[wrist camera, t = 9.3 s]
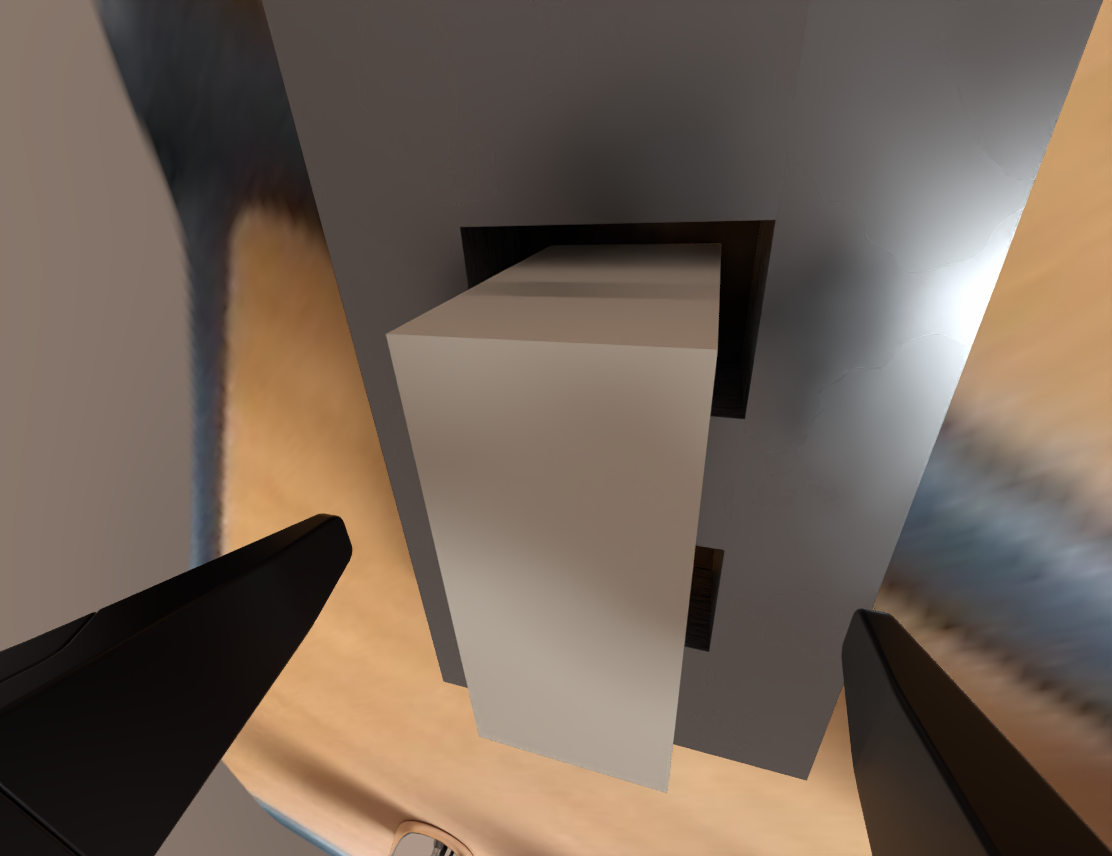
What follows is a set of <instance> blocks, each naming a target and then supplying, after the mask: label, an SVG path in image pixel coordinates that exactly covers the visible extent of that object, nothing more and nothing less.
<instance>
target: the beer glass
mask: <svg viewBox="0 0 1112 856" xmlns="http://www.w3.org/2000/svg"><path fill="white" fill-rule="evenodd" d="M389 856H473V855H472V853H471V852H470V851H469V850H468V849H467V848H466V847H465V846H464V845H463V844H462V843H461V842H459V841H458V840H457V839H455V838H454V837H452V836H451V835H449V834H447V833H446V832H444V831H442V830H440V829H438V828H436V827H433V826H431V825H428V824H425V823H422V822H417V821H405V822H403V823H401V824H400V825H399V827H398V829H397V831H396V834H395V837H394V840H393V843H392V847H391V850H390V853H389Z"/></svg>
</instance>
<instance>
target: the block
mask: <svg viewBox="0 0 1112 856" xmlns="http://www.w3.org/2000/svg"><path fill="white" fill-rule="evenodd" d="M720 268H721V243H704V244H618V245H551V246H549V247H547V248H545V249H543V250H541V251H540V252H538V253H536V254H534V255H532V256H530V257H528V258H527V259H525V260H523V261H521V262H519V263H517V264H515V265H514V266H512V267H510V268H508V269H506V270H504V271H502V272H500V273H499V274H497V275H495V276H493V277H491V278H489V279H487V280H486V281H484V282H482V283H480V284H478V285H476V286H474V287H473V288H471V289H469V290H467V291H465V292H463V293H461V294H459V295H458V296H456V297H454V298H452V299H450V300H448V301H446V302H445V303H443V304H441V305H439V306H437V307H435V308H433V309H432V310H430V311H428V312H426V313H424V314H422V315H420V316H419V317H417V318H415V319H413V320H411V321H409V322H407V323H405V324H404V325H402V326H400V327H398V328H396V329H394V330H392V331H391V332H389V333H387V334H386V337H387V341H388V346H389V350H390V354H391V359H392V363H393V367H394V372H395V376H396V380H397V384H398V389H399V393H400V397H401V402H402V406H403V410H404V415H405V419H406V423H407V428H408V432H409V436H410V441H411V445H412V449H413V454H414V458H415V462H416V466H417V471H418V475H419V479H420V484H421V488H422V492H423V497H424V501H425V505H426V510H427V514H428V518H429V523H430V527H431V531H432V536H433V540H434V544H435V548H436V553H437V557H438V561H439V566H440V570H441V574H442V579H443V583H444V587H445V592H446V596H447V600H448V605H449V609H450V613H451V618H452V622H453V626H454V631H455V635H456V639H457V643H458V648H459V652H460V656H461V661H462V665H463V669H464V674H465V678H466V682H467V687H468V691H469V695H470V700H471V704H472V708H473V713H474V717H475V721H476V725H477V730H478V734H479V737H482V738H485V739H489V740H492V741H495V742H499V743H502V744H505V745H509V746H512V747H515V748H519V749H522V750H525V751H529V752H532V753H535V754H539V755H542V756H545V757H548V758H552V759H555V760H558V761H562V762H565V763H568V764H572V765H575V766H578V767H582V768H585V769H588V770H592V771H595V772H598V773H602V774H605V775H608V776H612V777H615V778H618V779H621V780H625V781H628V782H631V783H635V784H638V785H641V786H645V787H648V788H651V789H655V790H658V791H661V792H665V793H668V785H669V776H670V767H671V758H672V749H673V740H674V731H675V723H676V714H677V705H678V696H679V687H680V678H681V670H682V661H683V652H684V643H685V634H686V625H687V617H688V608H689V599H690V590H691V581H692V572H693V564H694V555H695V546H696V537H697V528H698V519H699V511H700V502H701V493H702V484H703V475H704V466H705V457H706V449H707V440H708V431H709V422H710V413H711V404H712V396H713V387H714V378H715V369H716V360H717V351H718V326H719V297H720Z"/></svg>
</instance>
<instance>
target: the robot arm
mask: <svg viewBox="0 0 1112 856" xmlns="http://www.w3.org/2000/svg"><path fill="white" fill-rule="evenodd" d="M351 556H352V545H351V542H350V539H349V536H348V533H347V530H346V527H345V524H344V522H343V520H342V519H341V518H340V517H339V516H335V515H329V514H318V515H315V516H313V517H310V518H308V519H306V520H304V521H301V522H299V523H297V524H294V525H292V526H290V527H288V528H285V529H283V530H281V531H278V532H276V533H274V534H272V535H269V536H267V537H265V538H262V539H260V540H258V541H255V542H253V543H251V544H249V545H246V546H244V547H242V548H239V549H237V550H235V551H233V552H230V553H228V554H226V555H223V556H221V557H219V558H217V559H214V560H212V561H210V562H207V563H205V564H203V565H201V566H198V567H196V568H194V569H191V570H189V571H187V572H185V573H182V574H180V575H178V576H175V577H173V578H171V579H169V580H166V581H164V582H162V583H159V584H157V585H155V586H153V587H150V588H148V589H146V590H143V591H141V592H139V593H137V594H134V595H132V596H130V597H128V598H125V599H123V600H121V601H118V602H116V603H114V604H111V605H109V606H107V607H104V608H102V609H100V610H99V611H98V612H93V613H90V614H88V615H86V616H84V617H81V618H79V619H77V620H74V621H72V622H70V623H68V624H65V625H63V626H61V627H58V628H56V629H53V630H51V631H49V632H46V633H44V634H42V635H39V636H37V637H35V638H32V639H30V640H28V641H25V642H23V643H20V644H18V645H15V646H13V647H10V648H8V649H6V650H3V651H0V856H155V854H156V853H157V851H158V850H159V849H160V847H161V846H162V844H163V843H164V841H165V840H166V838H167V837H168V836H169V834H170V833H171V831H172V830H173V828H174V827H175V825H176V824H177V822H178V821H179V819H180V818H181V817H182V815H183V813H184V812H185V811H186V809H187V808H188V806H189V805H190V804H191V802H192V801H193V799H194V798H195V796H196V795H197V793H198V792H199V791H200V789H201V788H202V786H203V785H204V783H205V782H206V780H207V779H208V778H209V776H210V774H211V773H212V772H213V770H214V769H215V767H216V766H217V764H218V763H219V762H220V760H221V759H222V757H223V756H224V754H225V753H226V751H227V750H228V748H229V747H230V746H231V744H232V743H233V741H234V740H235V738H236V737H237V735H238V734H239V733H240V731H241V730H242V728H243V727H244V725H245V724H246V722H247V721H248V719H249V718H250V717H251V715H252V714H253V712H254V711H255V709H256V708H257V706H258V705H259V704H260V702H261V701H262V699H263V698H264V696H265V695H266V693H267V692H268V690H269V689H270V688H271V686H272V685H273V683H274V682H275V680H276V679H277V677H278V676H279V675H280V673H281V672H282V670H283V669H284V667H285V666H286V664H287V663H288V661H289V660H290V659H291V657H292V656H293V654H294V653H295V651H296V650H297V648H298V647H299V646H300V644H301V643H302V641H303V640H304V638H305V637H306V635H307V634H308V632H309V631H310V629H311V627H312V626H313V624H314V622H315V621H316V619H317V617H318V616H319V614H320V612H321V610H322V608H323V607H324V605H325V603H326V601H327V600H328V598H329V596H330V594H331V593H332V591H333V589H334V587H335V586H336V584H337V582H338V580H339V578H340V577H341V575H342V573H343V571H344V570H345V568H346V566H347V564H348V563H349V561H350V559H351ZM841 659H842V669H843V678H844V687H845V697H846V706H847V715H848V724H849V733H850V743H851V752H852V759H853V767H854V773H855V778H856V784H857V789H858V793H859V798H860V802H861V807H862V811H863V816H864V820H865V825H866V829H867V834H868V838H869V843H870V847H871V852H872V856H1112V851H1111V850H1110V848H1109V847H1108V846H1107V845H1106V844H1105V843H1104V842H1103V841H1102V840H1101V839H1100V838H1099V837H1098V836H1097V835H1096V833H1095V832H1094V831H1093V830H1092V829H1091V828H1090V827H1089V826H1088V825H1087V824H1086V823H1085V822H1084V821H1083V820H1082V818H1081V817H1080V816H1079V815H1078V814H1077V813H1076V812H1075V811H1074V810H1073V809H1072V808H1071V807H1070V806H1069V805H1068V803H1067V802H1066V801H1065V800H1064V799H1063V798H1062V797H1061V796H1060V795H1059V794H1058V793H1057V792H1056V791H1055V789H1054V788H1053V787H1052V786H1051V785H1050V784H1049V783H1048V782H1047V781H1046V780H1045V779H1044V778H1043V777H1042V776H1041V774H1040V773H1039V772H1038V771H1037V770H1036V769H1035V768H1034V767H1033V766H1032V765H1031V764H1030V763H1029V762H1028V761H1027V759H1026V758H1025V757H1024V756H1023V755H1022V754H1021V753H1020V752H1019V751H1018V750H1017V749H1016V748H1015V747H1014V746H1013V744H1012V743H1011V742H1010V741H1009V740H1008V739H1007V738H1006V737H1005V736H1004V735H1003V734H1002V733H1001V732H1000V731H999V729H998V728H997V727H996V726H995V725H994V724H993V723H992V722H991V721H990V720H989V719H988V718H987V717H986V716H985V714H984V713H983V712H982V711H981V710H980V709H979V708H978V707H977V706H976V705H975V704H974V703H973V702H972V701H971V699H970V698H969V697H968V696H967V695H966V694H965V693H964V692H963V691H962V690H961V689H960V688H959V687H958V686H957V684H956V683H955V682H954V681H953V680H952V679H951V678H950V677H949V676H948V675H947V674H946V673H945V672H944V671H943V669H942V668H941V667H940V666H939V665H938V664H937V663H936V662H935V661H934V660H933V659H932V658H931V657H930V655H929V654H928V653H927V652H926V651H925V650H924V649H923V648H922V647H921V646H920V645H919V644H918V643H917V642H916V640H915V639H914V638H913V637H912V636H911V635H910V634H909V633H908V632H907V631H906V630H905V629H904V628H903V627H902V625H901V624H900V623H899V622H898V621H897V620H896V619H895V618H894V617H893V616H891V615H890V614H888V613H885V612H880V611H874V610H869V609H863V608H860V609H857V610H856V611H855V612H854V614H853V616H852V619H851V622H850V625H849V627H848V630H847V633H846V636H845V639H844V642H843V645H842V653H841Z"/></svg>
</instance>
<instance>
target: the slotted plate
mask: <svg viewBox="0 0 1112 856" xmlns="http://www.w3.org/2000/svg"><path fill="white" fill-rule="evenodd" d="M1102 1H1103V0H262V3H263V7H264V11H265V14H266V18H267V22H268V26H269V29H270V33H271V37H272V41H273V44H274V48H275V52H276V56H277V59H278V63H279V67H280V71H281V74H282V78H283V82H284V86H285V89H286V93H287V97H288V100H289V104H290V108H291V112H292V115H293V119H294V123H295V127H296V130H297V134H298V138H299V142H300V145H301V149H302V153H303V157H304V160H305V164H306V168H307V172H308V175H309V179H310V183H311V187H312V190H313V194H314V198H315V202H316V205H317V209H318V213H319V217H320V220H321V224H322V228H323V232H324V235H325V239H326V243H327V247H328V250H329V254H330V258H331V262H332V265H333V269H334V273H335V277H336V280H337V284H338V288H339V292H340V295H341V299H342V303H343V307H344V310H345V314H346V318H347V321H348V325H349V329H350V333H351V336H352V340H353V344H354V348H355V351H356V355H357V359H358V363H359V366H360V370H361V374H362V378H363V381H364V385H365V389H366V393H367V396H368V400H369V404H370V408H371V411H372V415H373V419H374V423H375V426H376V430H377V434H378V438H379V441H380V445H381V449H382V453H383V456H384V460H385V464H386V468H387V471H388V475H389V479H390V483H391V486H392V490H393V494H394V498H395V501H396V505H397V509H398V513H399V516H400V520H401V524H402V527H403V531H404V535H405V539H406V542H407V546H408V550H409V554H410V557H411V561H412V565H413V569H414V572H415V576H416V580H417V584H418V587H419V591H420V595H421V599H422V602H423V606H424V610H425V614H426V617H427V621H428V625H429V629H430V632H431V636H432V640H433V644H434V647H435V651H436V655H437V659H438V662H439V666H440V670H441V674H442V677H443V681H444V682H448V683H452V684H455V685H459V686H463V687H466V688H468V687H467V682H466V678H465V674H464V669H463V665H462V661H461V656H460V652H459V648H458V643H457V639H456V635H455V631H454V626H453V622H452V618H451V613H450V609H449V605H448V600H447V596H446V592H445V587H444V583H443V579H442V574H441V570H440V566H439V561H438V557H437V553H436V548H435V544H434V540H433V536H432V531H431V527H430V523H429V518H428V514H427V510H426V505H425V501H424V497H423V492H422V488H421V484H420V479H419V475H418V471H417V466H416V462H415V458H414V454H413V449H412V445H411V441H410V436H409V432H408V428H407V423H406V419H405V415H404V410H403V406H402V402H401V397H400V393H399V389H398V384H397V380H396V376H395V372H394V367H393V363H392V359H391V354H390V350H389V346H388V341H387V337H386V334H387V333H389V332H391V331H392V330H394V329H396V328H398V327H400V326H402V325H404V324H405V323H407V322H409V321H411V320H413V319H415V318H417V317H419V316H420V315H422V314H424V313H426V312H428V311H430V310H432V309H433V308H435V307H437V306H439V305H441V304H443V303H445V302H446V301H448V300H450V299H452V298H454V297H456V296H458V295H459V294H461V293H463V292H465V291H467V290H469V289H471V288H473V287H474V286H476V285H478V284H480V283H482V282H484V281H486V280H487V279H489V278H491V277H493V276H495V275H497V274H499V273H500V272H502V271H504V270H506V269H508V268H510V267H512V266H514V265H515V264H517V263H519V262H520V252H519V240H518V228H517V226H529V225H573V224H616V223H660V222H704V221H748V220H761V223H760V230H759V237H758V244H757V251H756V258H755V265H754V272H753V280H752V287H751V294H750V301H749V308H748V315H747V322H746V329H745V337H744V344H743V351H742V358H741V363H725V362H716V369H715V378H714V387H713V396H712V404H711V413H710V422H709V431H708V440H707V449H706V457H705V466H704V475H703V484H702V493H701V502H700V511H699V519H698V528H697V537H696V546H702V547H709V548H715V550H714V557H713V564H712V571H711V570H706V569H700V568H694V567H693V572H692V581H691V590H690V599H689V608H688V617H687V625H686V634H685V643H684V652H683V661H682V670H681V678H680V687H679V696H678V705H677V714H676V723H675V731H674V740H673V744H675V745H679V746H682V747H686V748H690V749H693V750H697V751H701V752H704V753H708V754H712V755H715V756H719V757H723V758H726V759H730V760H734V761H737V762H741V763H745V764H748V765H752V766H756V767H759V768H763V769H767V770H770V771H774V772H778V773H781V774H785V775H789V776H792V777H796V778H800V779H803V780H807V778H808V776H809V773H810V771H811V768H812V765H813V763H814V760H815V757H816V755H817V752H818V749H819V747H820V744H821V742H822V739H823V736H824V734H825V731H826V728H827V726H828V723H829V720H830V718H831V715H832V713H833V710H834V707H835V705H836V702H837V699H838V697H839V694H840V691H841V689H842V686H843V684H844V678H843V669H842V659H841V653H842V645H843V642H844V639H845V636H846V633H847V630H848V627H849V625H850V622H851V619H852V616H853V614H854V612H855V611H856V610H857V609H860V608H863V609H869V610H872V607H873V605H874V602H875V599H876V597H877V594H878V591H879V589H880V586H881V584H882V581H883V578H884V576H885V573H886V570H887V568H888V565H889V562H890V560H891V557H892V555H893V552H894V549H895V547H896V544H897V541H898V539H899V536H900V533H901V531H902V528H903V526H904V523H905V520H906V518H907V515H908V512H909V510H910V507H911V505H912V502H913V499H914V497H915V494H916V491H917V489H918V486H919V483H920V481H921V478H922V476H923V473H924V470H925V468H926V465H927V462H928V460H929V457H930V454H931V452H932V449H933V447H934V444H935V441H936V439H937V436H938V433H939V431H940V428H941V425H942V423H943V420H944V418H945V415H946V412H947V410H948V407H949V404H950V402H951V399H952V397H953V394H954V391H955V389H956V386H957V383H958V381H959V378H960V375H961V373H962V370H963V368H964V365H965V362H966V360H967V357H968V354H969V352H970V349H971V346H972V344H973V341H974V339H975V336H976V333H977V331H978V328H979V325H980V323H981V320H982V318H983V315H984V312H985V310H986V307H987V304H988V302H989V299H990V296H991V294H992V291H993V289H994V286H995V283H996V281H997V278H998V275H999V273H1000V270H1001V267H1002V265H1003V262H1004V260H1005V257H1006V254H1007V252H1008V249H1009V246H1010V244H1011V241H1012V238H1013V236H1014V233H1015V231H1016V228H1017V225H1018V223H1019V220H1020V217H1021V215H1022V212H1023V210H1024V207H1025V204H1026V202H1027V199H1028V196H1029V194H1030V191H1031V188H1032V186H1033V183H1034V181H1035V178H1036V175H1037V173H1038V170H1039V167H1040V165H1041V162H1042V159H1043V157H1044V154H1045V152H1046V149H1047V146H1048V144H1049V141H1050V138H1051V136H1052V133H1053V131H1054V128H1055V125H1056V123H1057V120H1058V117H1059V115H1060V112H1061V109H1062V107H1063V104H1064V102H1065V99H1066V96H1067V94H1068V91H1069V88H1070V86H1071V83H1072V80H1073V78H1074V75H1075V73H1076V70H1077V67H1078V65H1079V62H1080V59H1081V57H1082V54H1083V52H1084V49H1085V46H1086V44H1087V41H1088V38H1089V36H1090V33H1091V30H1092V28H1093V25H1094V23H1095V20H1096V17H1097V15H1098V12H1099V9H1100V7H1101V4H1102Z"/></svg>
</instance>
